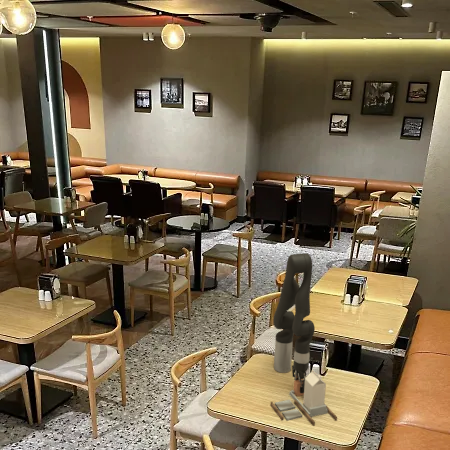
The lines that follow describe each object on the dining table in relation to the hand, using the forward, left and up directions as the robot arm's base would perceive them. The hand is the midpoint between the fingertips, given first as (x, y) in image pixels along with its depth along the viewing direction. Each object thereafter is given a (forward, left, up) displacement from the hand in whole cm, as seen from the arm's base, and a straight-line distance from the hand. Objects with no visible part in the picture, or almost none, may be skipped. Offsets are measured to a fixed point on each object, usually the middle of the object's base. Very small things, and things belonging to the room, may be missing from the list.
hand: (299, 389), depth 239 cm
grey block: (+8, 0, -2) cm, 9 cm away
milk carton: (+13, 0, -3) cm, 14 cm away
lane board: (+14, -6, -2) cm, 15 cm away
